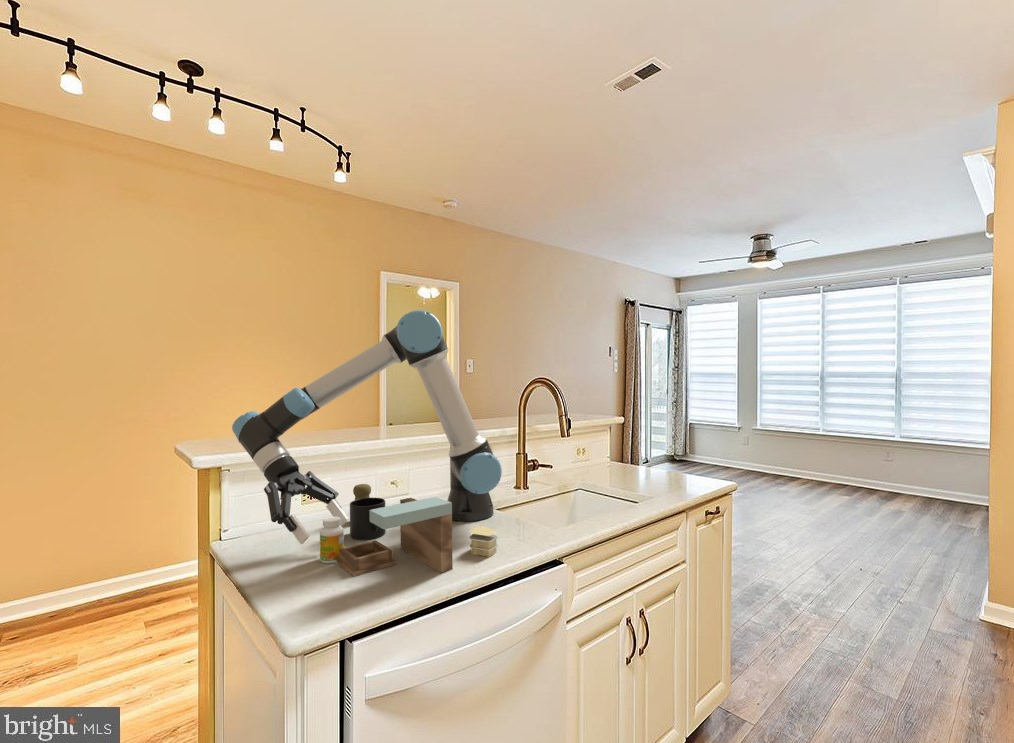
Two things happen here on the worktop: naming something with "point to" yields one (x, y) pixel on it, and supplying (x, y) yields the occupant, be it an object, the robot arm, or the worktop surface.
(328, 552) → the supplement bottle
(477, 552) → the pale yellow layered block
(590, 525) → the worktop surface
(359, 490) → the cork
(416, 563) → the worktop surface
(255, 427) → the robot arm
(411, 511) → the plank
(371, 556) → the brown wooden square tray
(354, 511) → the mug
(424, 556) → the wall
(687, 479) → the worktop surface
